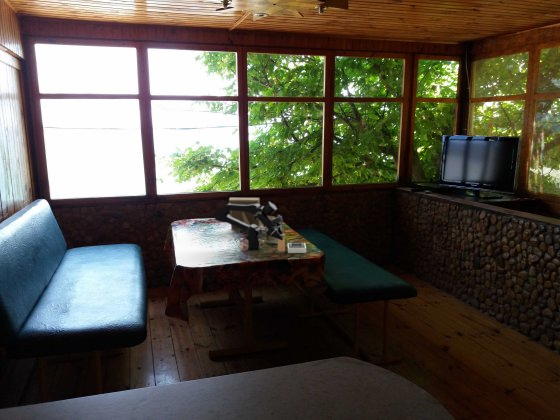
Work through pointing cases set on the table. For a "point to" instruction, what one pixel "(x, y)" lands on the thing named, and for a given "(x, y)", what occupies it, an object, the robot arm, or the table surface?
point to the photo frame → (243, 215)
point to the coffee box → (272, 239)
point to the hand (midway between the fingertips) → (283, 238)
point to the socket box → (296, 248)
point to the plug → (281, 243)
